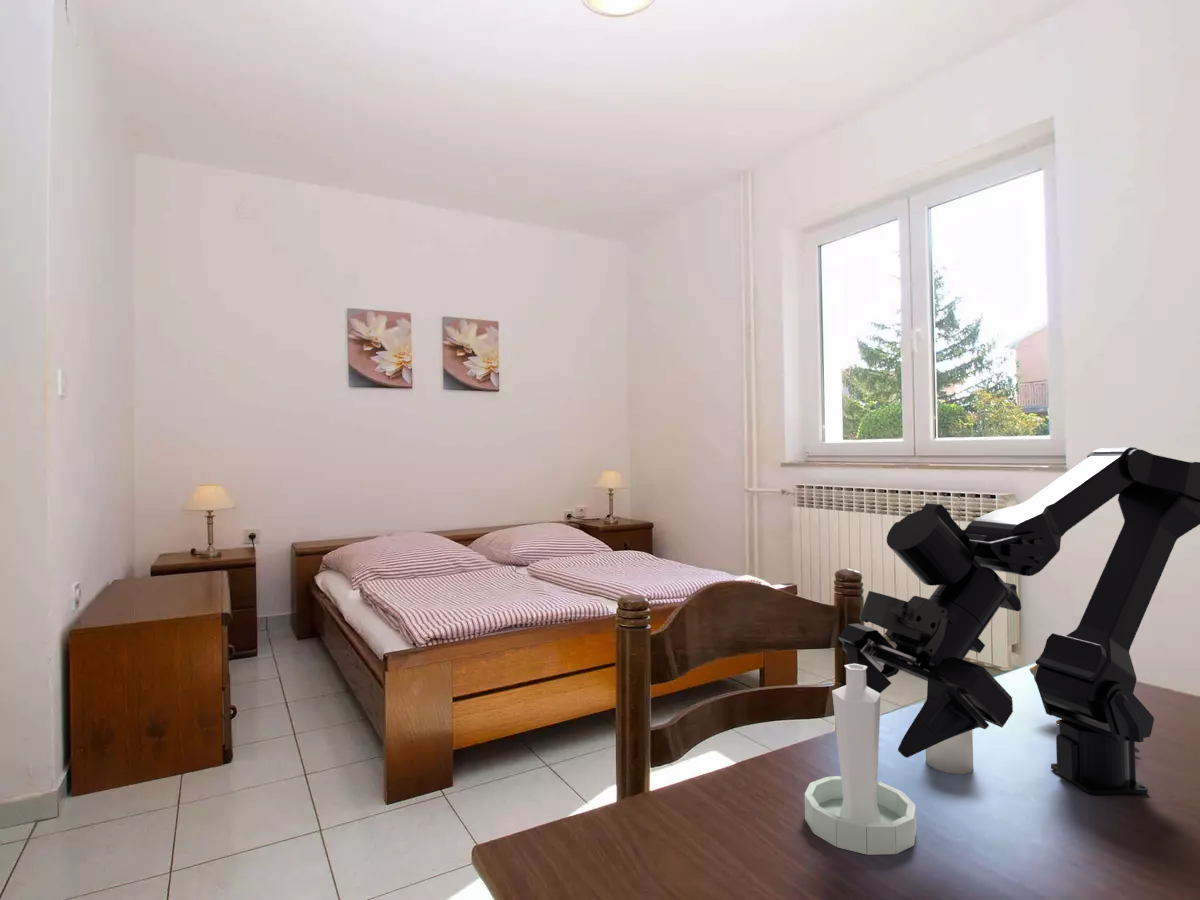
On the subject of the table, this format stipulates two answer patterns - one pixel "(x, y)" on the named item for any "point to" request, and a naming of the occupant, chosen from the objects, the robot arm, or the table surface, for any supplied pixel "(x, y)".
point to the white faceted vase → (858, 745)
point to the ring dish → (858, 836)
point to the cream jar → (952, 754)
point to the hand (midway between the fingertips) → (869, 735)
